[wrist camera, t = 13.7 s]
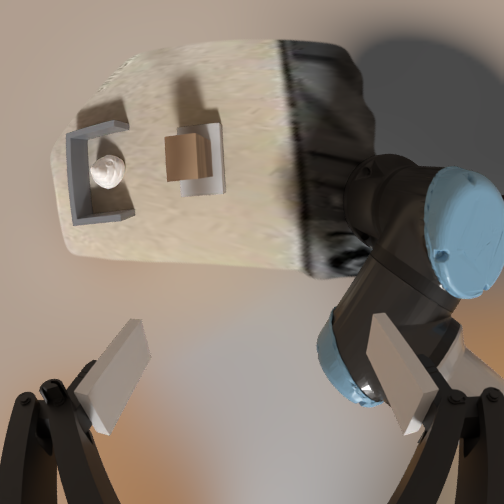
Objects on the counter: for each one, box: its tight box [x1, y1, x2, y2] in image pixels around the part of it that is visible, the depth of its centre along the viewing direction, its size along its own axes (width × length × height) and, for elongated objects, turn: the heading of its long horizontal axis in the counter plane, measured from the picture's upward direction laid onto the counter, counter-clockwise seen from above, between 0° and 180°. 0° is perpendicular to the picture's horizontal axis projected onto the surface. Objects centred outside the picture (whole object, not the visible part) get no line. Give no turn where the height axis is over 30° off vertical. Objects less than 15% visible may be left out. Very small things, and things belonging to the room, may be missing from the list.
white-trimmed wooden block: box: [165, 123, 226, 197], centre depth 34 cm, size 6×10×12 cm, turn 3°
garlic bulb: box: [90, 155, 125, 189], centre depth 38 cm, size 6×6×6 cm
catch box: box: [66, 120, 135, 226], centre depth 38 cm, size 10×15×5 cm, turn 3°
